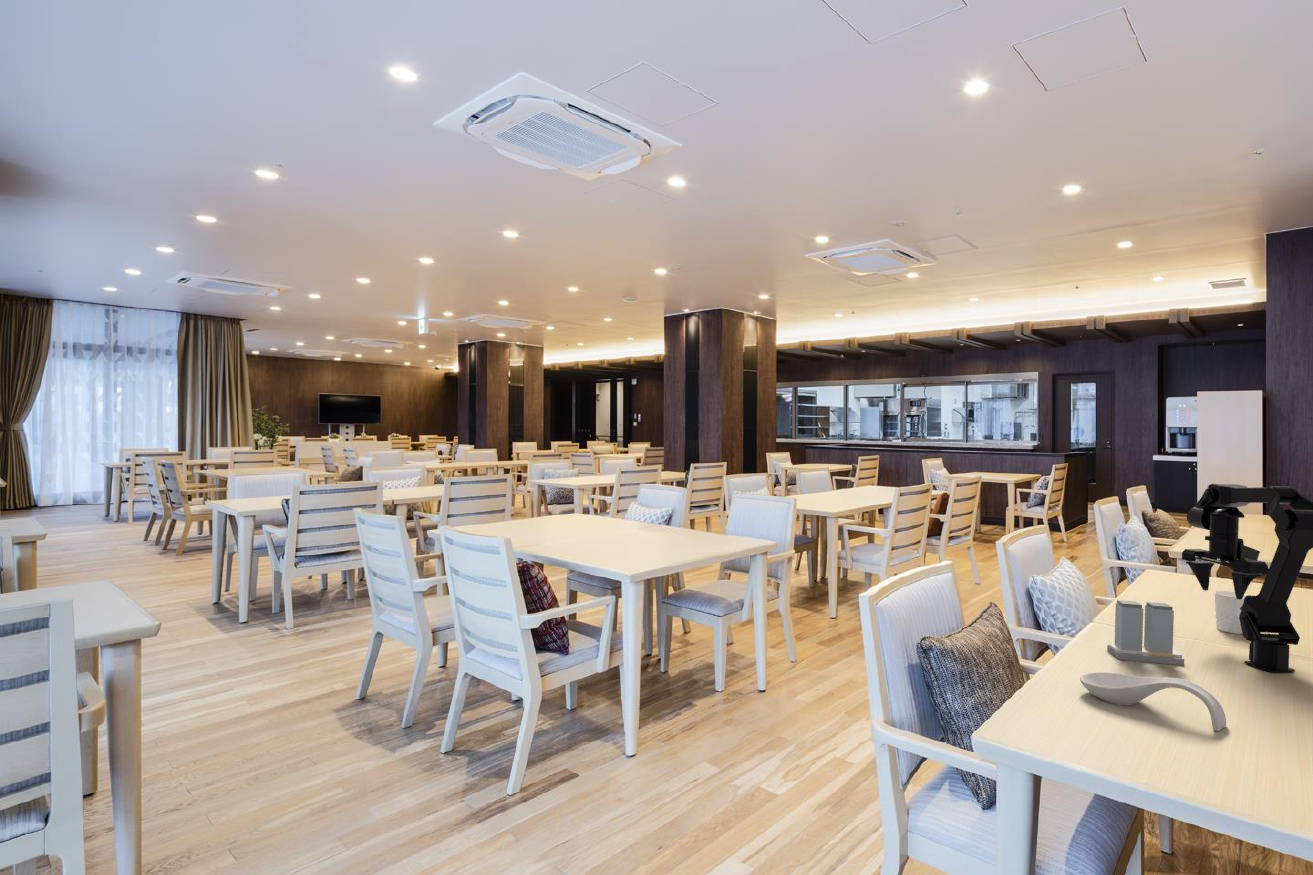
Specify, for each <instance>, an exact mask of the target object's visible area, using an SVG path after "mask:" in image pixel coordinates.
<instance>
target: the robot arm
mask: <svg viewBox="0 0 1313 875" xmlns="http://www.w3.org/2000/svg"><path fill="white" fill-rule="evenodd" d="M1248 504H1268V506H1269V508H1268V509H1269V510H1268V516H1269V517H1270V519H1271V520H1272V521H1273V523H1274V524H1275V527H1274V532H1275V535H1276V537H1277V540H1278V545H1277V548H1276V550H1275V552H1274V554H1273V557H1272V560H1271V562H1270V565H1269V566H1268V564H1267V563H1266V561H1262V560H1258V559H1259V557H1260V553H1261V551H1260V550H1257V549H1255V548H1253V547H1249V546H1247V545H1244V544H1245V543H1244V539H1243V538H1240V537H1239V530H1240V525H1239V523H1240V519H1243V518H1246V515H1245V514H1244V513H1243V512H1242V511H1240V509H1239V508H1240V507H1244V506H1248ZM1281 505H1289V506H1290V507H1291V508H1287V509H1284V508H1283V507H1282V506H1281ZM1186 520H1187V523H1188V524H1189V525H1190V526H1192V527H1193V528H1198V529H1202V530H1205V531H1208V532H1209V534H1208V535H1205V536H1204V541H1208V550H1206V549H1202V548H1185V549H1184V550H1182V552H1181V560H1183V561H1185V564H1186V565H1188V566H1189V568H1190V569H1191V571H1192V572H1193V575H1195V576H1194V577H1196V579H1197V581H1198V582H1199V585H1200V587H1201V589H1202V590H1203V591H1205V592H1206V591H1208V590H1209V589H1210V588H1209V587H1210V576H1211V569H1212V568H1213V567H1214V565H1215V564H1218V565H1224V566H1228V567H1232V569H1233V570H1234V571H1231V577H1232V578H1231V579H1232V583H1233V588H1234V589H1233V591H1234V592H1235V595H1236V598H1237V599H1242V598H1243V596H1244V594H1246V592H1247V590H1248V588H1249V586H1250V585H1251V583H1252V582H1253V580H1255V579H1256V578H1258V577H1262V576H1263V575H1264V574H1265V578H1264V580H1263V583H1262V585H1261V587H1260V591H1259V593H1258V594H1256V595H1250V596H1248V595H1249V594H1247V596H1246V597H1245V598H1244V602H1243V605H1242V607H1241V608H1240V610H1242V611H1241V613H1240V616H1239V619H1240V624H1241V629H1242V634H1241V635H1242V637H1243V639H1245V640H1246V641H1248V642H1249V641H1250V642H1249V644H1248V645H1249V647H1248V648H1249V650H1248V653H1249V654H1248V660H1243V661H1244V662H1243V663H1244V664H1246V665H1248V666H1251V667H1254V668H1257V669H1260V670H1263V671H1266V672H1268V673H1291V672H1292V673H1294V672H1296V671H1295V670H1296V669H1295V668H1293V667H1290V666H1289V665H1290V645H1294V646H1298V645H1299V642H1300V639H1301V638H1300V635H1299V633H1298V631H1297V630H1296V629H1295V626H1294V625H1293V623H1292V622H1291V619H1292V613H1291V611H1290V609H1289V607H1288V601H1289V599H1290V596H1291V594H1292V591H1293V589H1294V586H1295V584H1296V582H1297V579H1298V577H1299V575H1300V572H1301V570H1302V567H1303V565H1304V562H1305V559H1306V557H1307V555H1308V552H1309V551H1310V550H1312V549H1313V501H1311V500H1310V499H1308V498H1307V497H1305V496H1303V495H1302V494H1301V493H1300V492H1299V491H1298V490H1297V489H1296V488H1294V487H1292V486H1284V485H1283V486H1280V485H1279V486H1278V485H1277V486H1273V485H1271V486H1268V487H1265V486H1263V487H1248V486H1246V485H1241V484H1237V483H1236V484H1234V483H1228V484H1227V483H1210V484H1208V485H1207V488H1206V489H1205V490H1204V492H1203V493H1202V495H1201V497H1200V498H1199V499H1198V501H1197V502H1195V504H1194V507H1191V508H1190V509H1189V510H1188V512H1187V514H1186Z"/></svg>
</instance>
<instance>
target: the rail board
mask: <svg viewBox="0 0 1313 875" xmlns="http://www.w3.org/2000/svg"><path fill="white" fill-rule="evenodd" d="M1106 646H1107V648H1106V650H1107V652H1109V653H1110V655H1112V656H1113V655H1114V656H1113V657H1114V658H1115V659H1117V660H1118V661H1131V662H1143V663H1153V664H1164V665H1166V664H1167V665H1179V666H1185V658H1184V657H1183V654H1181V653H1180V652H1178V651H1177V650H1175V649H1173V654H1167V653H1155V652H1150V651H1149V650H1147V649H1146V648H1145V647H1144V645H1142V651H1131V650H1121V649H1120V648H1118V647H1117V646H1116V645H1115V643H1109V644H1107V645H1106Z"/></svg>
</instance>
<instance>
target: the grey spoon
mask: <svg viewBox="0 0 1313 875" xmlns="http://www.w3.org/2000/svg"><path fill="white" fill-rule="evenodd" d="M1079 681H1080V682H1081V684H1082V686H1083V687H1084V688H1085V689H1086V690H1087V691H1088V692H1089V693H1090V694H1092V695H1093V696H1095V697H1097V698H1099V699H1101V700H1103V701H1104V702H1107V703H1111V704H1114V705H1119V706H1133V705H1136V703H1138V702H1142V700H1145V699H1146V698H1148V697H1150V696H1152V695H1153V694H1155V693H1157V692H1159V691H1163V690H1165V689H1170V688H1171V689H1174V688H1175V689H1181V690H1184V691H1187V692H1188V693H1190V694H1191V695H1194V696H1195V697H1196V698H1198V699H1199V700H1201V701H1202V702H1203V705H1205V707H1206V709H1207V710H1208V712H1209V715H1210V719H1211V728H1212V730H1214V731H1215V732H1220V731H1222V729H1224V728H1226V726H1227V719H1226V718H1227V717H1226V713H1225V710H1224V709H1223V707H1222V705H1221V704H1220V701H1218V699H1217V698H1216V697H1215V696H1214V695H1213V694H1212V693H1210V692H1209V691H1208V690H1207V689H1205V688H1203V687H1202V686H1200V685H1198V684H1196V683H1195V682H1192V681H1190V680H1186V679H1184V678H1179V677H1178V678H1177V677H1166V676H1165V677H1145V676H1144V677H1143V676H1136V675H1131V674H1122V673H1115V672H1101V671H1100V672H1089V673H1086V674H1083V675H1081V676H1080V677H1079Z"/></svg>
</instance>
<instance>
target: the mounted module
mask: <svg viewBox="0 0 1313 875" xmlns="http://www.w3.org/2000/svg"><path fill="white" fill-rule="evenodd" d="M1114 612H1115V614H1114V616H1115V618H1114V644H1115V645H1116V646H1117V647H1118V648H1120V649H1121V650H1131V651H1142V646H1143V641H1144V636H1143V635H1144V634H1143V633H1144V629H1143V628H1144V608H1143V604H1142V603H1139V602H1138V601H1136V600H1135V601H1134V600H1121V599H1117V600H1116V603H1115V611H1114Z"/></svg>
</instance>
